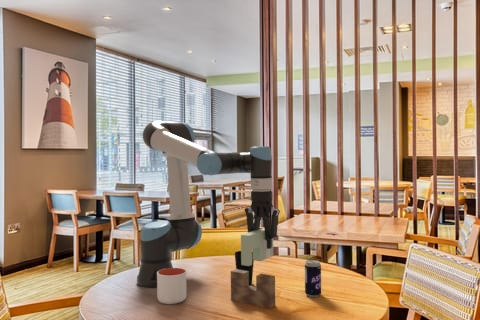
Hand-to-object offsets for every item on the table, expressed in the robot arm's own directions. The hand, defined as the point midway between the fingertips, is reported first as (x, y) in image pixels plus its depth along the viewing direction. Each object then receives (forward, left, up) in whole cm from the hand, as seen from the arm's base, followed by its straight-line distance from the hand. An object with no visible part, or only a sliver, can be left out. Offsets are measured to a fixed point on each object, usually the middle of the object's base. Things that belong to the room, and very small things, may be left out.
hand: (262, 256), depth 147 cm
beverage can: (+14, +12, -15) cm, 23 cm away
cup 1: (-25, -19, -15) cm, 35 cm away
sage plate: (0, -3, -1) cm, 3 cm away
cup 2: (-14, +10, -15) cm, 22 cm away
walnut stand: (0, -6, -14) cm, 16 cm away
